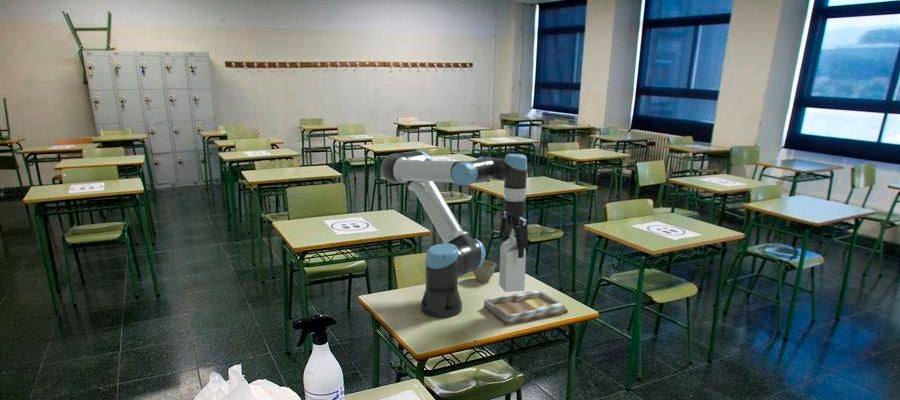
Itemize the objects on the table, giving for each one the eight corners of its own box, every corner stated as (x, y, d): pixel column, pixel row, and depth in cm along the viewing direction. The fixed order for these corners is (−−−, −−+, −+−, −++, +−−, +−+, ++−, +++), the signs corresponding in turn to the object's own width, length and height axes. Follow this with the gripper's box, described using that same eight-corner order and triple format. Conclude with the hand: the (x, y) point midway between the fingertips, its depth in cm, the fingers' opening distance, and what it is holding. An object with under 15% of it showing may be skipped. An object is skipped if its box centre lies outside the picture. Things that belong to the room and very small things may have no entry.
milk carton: (517, 283, 189) (519, 233, 185) (524, 291, 182) (526, 239, 178) (498, 285, 187) (500, 234, 183) (505, 292, 181) (507, 240, 177)
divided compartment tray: (505, 325, 177) (506, 316, 176) (483, 307, 191) (483, 299, 191) (567, 312, 188) (568, 304, 187) (541, 296, 202) (542, 289, 201)
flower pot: (493, 285, 214) (493, 268, 212) (469, 283, 215) (469, 266, 214) (496, 276, 223) (496, 261, 222) (473, 275, 225) (473, 259, 224)
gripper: (541, 204, 170) (538, 270, 175) (508, 193, 189) (506, 252, 194) (522, 206, 167) (519, 273, 172) (490, 194, 186) (488, 255, 190)
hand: (512, 262), depth 183 cm, fingers closed on milk carton, 8 cm apart
